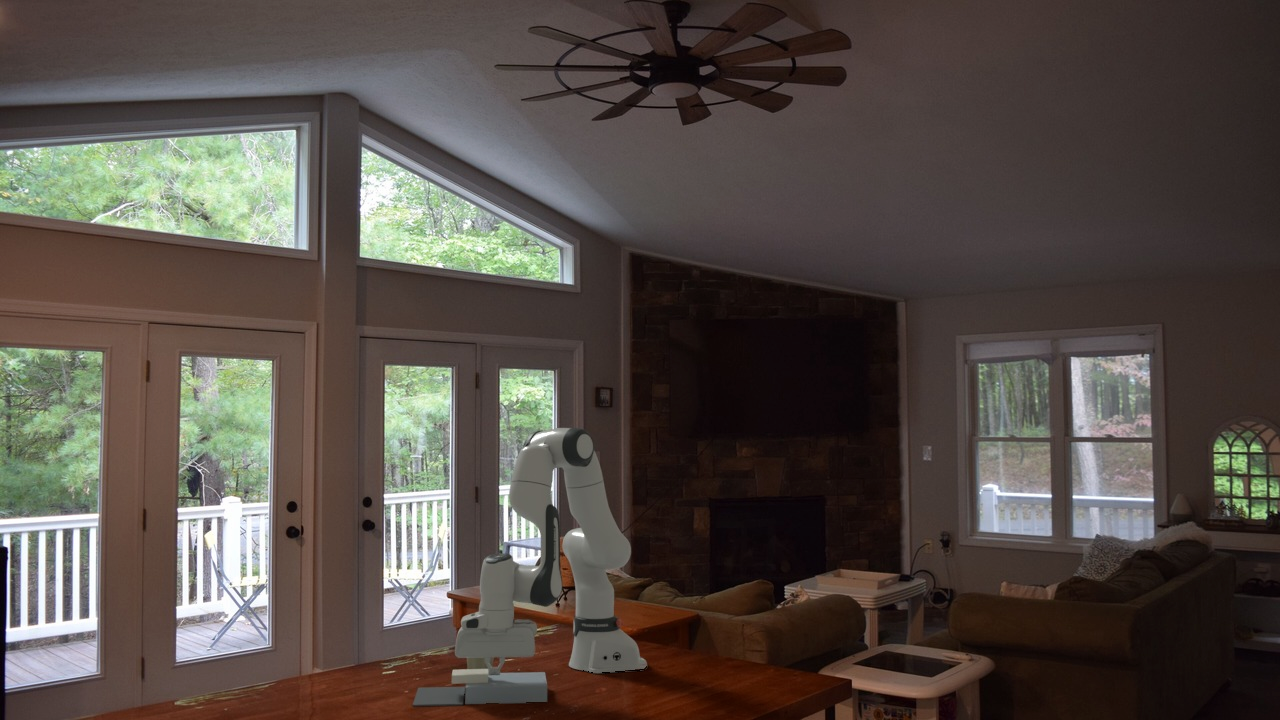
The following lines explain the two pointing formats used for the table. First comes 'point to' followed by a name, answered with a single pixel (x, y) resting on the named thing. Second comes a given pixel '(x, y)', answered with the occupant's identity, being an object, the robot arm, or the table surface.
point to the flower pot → (478, 663)
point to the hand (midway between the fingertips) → (494, 674)
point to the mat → (439, 696)
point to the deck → (508, 689)
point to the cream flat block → (470, 676)
